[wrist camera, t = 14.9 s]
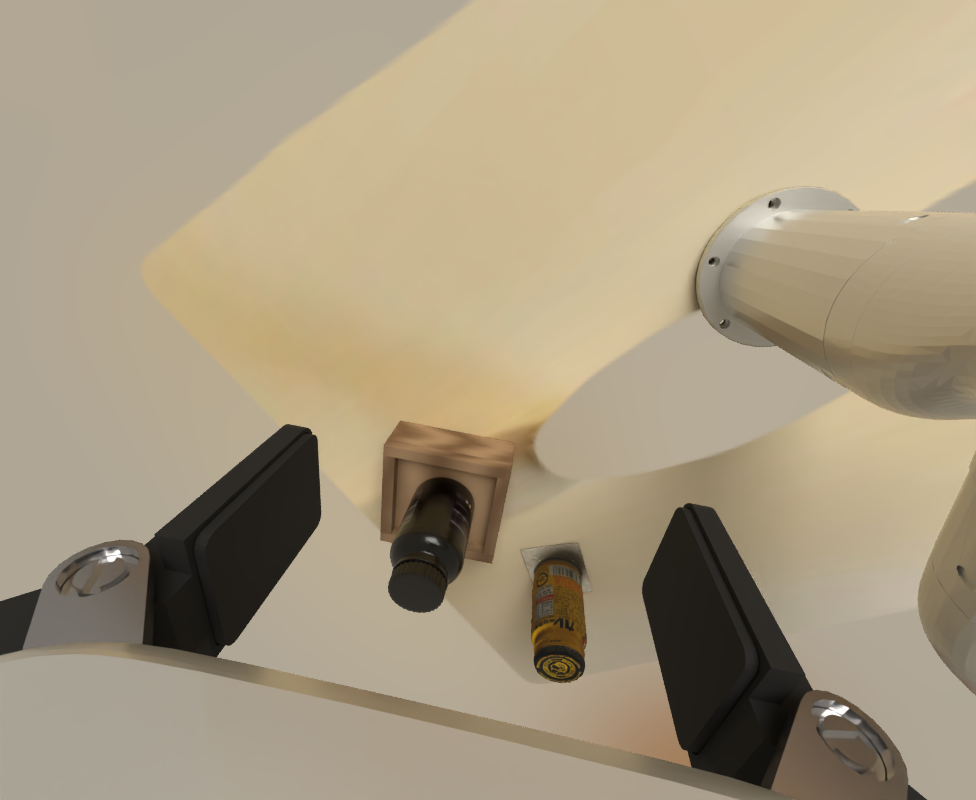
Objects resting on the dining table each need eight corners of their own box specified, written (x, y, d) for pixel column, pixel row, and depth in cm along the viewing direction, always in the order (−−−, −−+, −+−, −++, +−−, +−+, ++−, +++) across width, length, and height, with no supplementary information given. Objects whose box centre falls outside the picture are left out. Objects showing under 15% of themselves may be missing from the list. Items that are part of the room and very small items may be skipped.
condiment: (537, 595, 55) (534, 690, 44) (520, 548, 52) (513, 639, 41) (591, 589, 53) (603, 687, 42) (578, 541, 50) (586, 633, 39)
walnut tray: (514, 443, 45) (511, 470, 40) (496, 530, 51) (491, 563, 46) (400, 420, 46) (383, 445, 41) (395, 509, 51) (380, 540, 47)
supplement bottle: (432, 530, 47) (397, 627, 36) (404, 483, 44) (358, 572, 34) (486, 516, 45) (467, 614, 34) (460, 467, 42) (431, 556, 32)
